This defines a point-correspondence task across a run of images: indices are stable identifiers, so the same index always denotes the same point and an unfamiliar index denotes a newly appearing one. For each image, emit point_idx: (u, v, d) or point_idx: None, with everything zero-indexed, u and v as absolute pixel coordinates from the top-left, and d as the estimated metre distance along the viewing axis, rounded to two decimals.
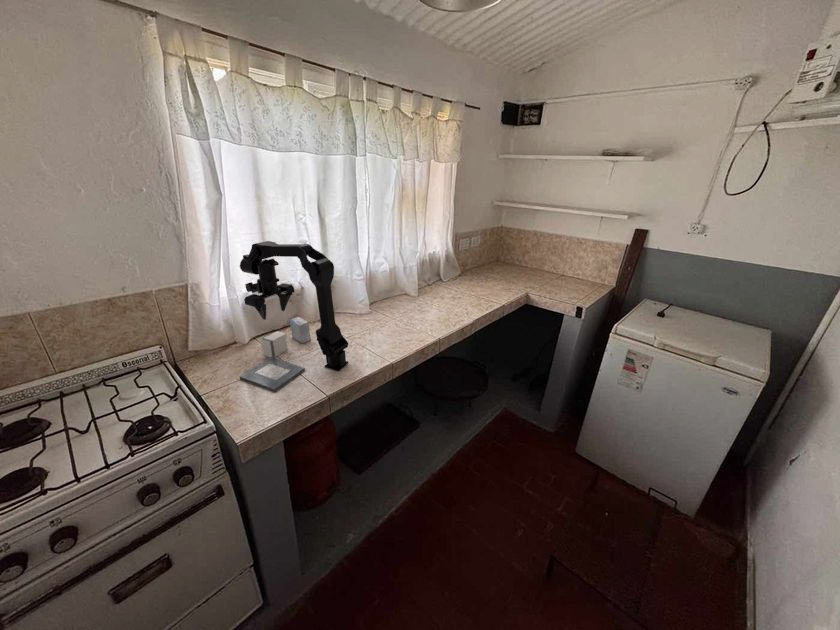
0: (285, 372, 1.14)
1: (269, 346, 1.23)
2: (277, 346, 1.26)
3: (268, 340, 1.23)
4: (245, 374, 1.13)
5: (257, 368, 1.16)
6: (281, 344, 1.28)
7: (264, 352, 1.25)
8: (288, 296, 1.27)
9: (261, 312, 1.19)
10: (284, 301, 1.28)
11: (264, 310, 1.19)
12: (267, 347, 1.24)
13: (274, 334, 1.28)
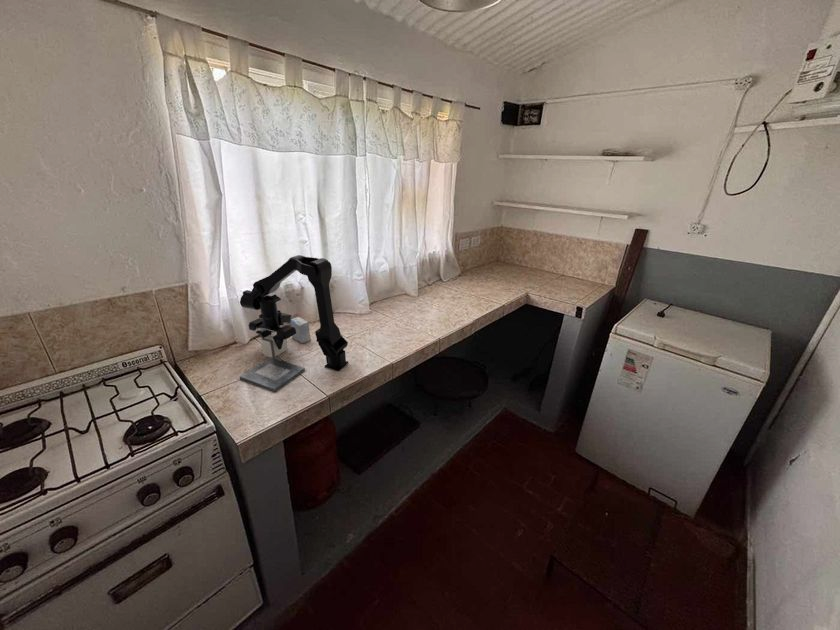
0: (285, 372, 1.14)
1: (269, 346, 1.23)
2: None
3: (268, 340, 1.23)
4: (245, 374, 1.13)
5: (257, 368, 1.16)
6: None
7: (264, 352, 1.25)
8: (274, 338, 1.22)
9: None
10: None
11: (262, 337, 1.26)
12: (267, 347, 1.24)
13: (274, 334, 1.28)
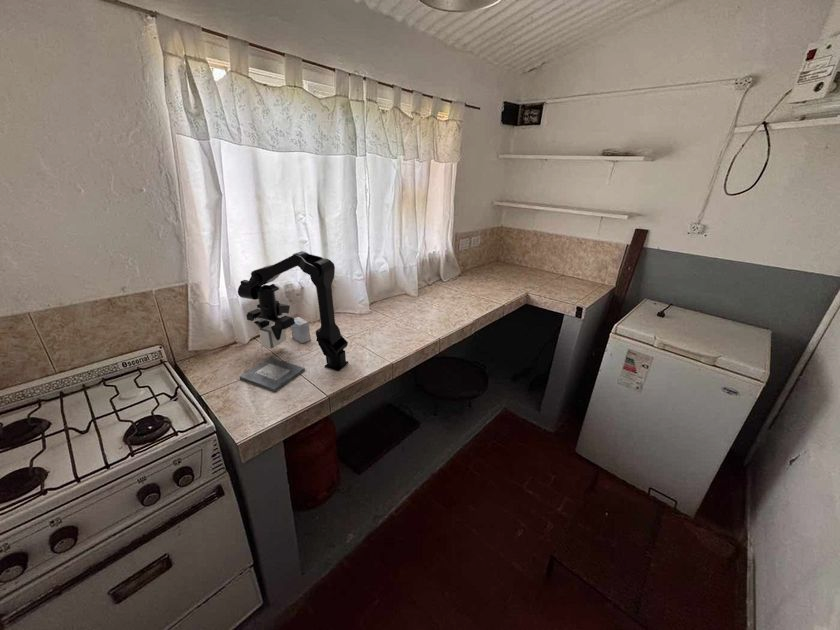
0: (285, 372, 1.14)
1: (267, 336, 1.21)
2: None
3: (267, 331, 1.21)
4: (245, 374, 1.13)
5: (257, 368, 1.16)
6: None
7: (262, 343, 1.24)
8: (272, 328, 1.20)
9: None
10: None
11: (260, 328, 1.24)
12: (265, 337, 1.22)
13: (272, 325, 1.26)
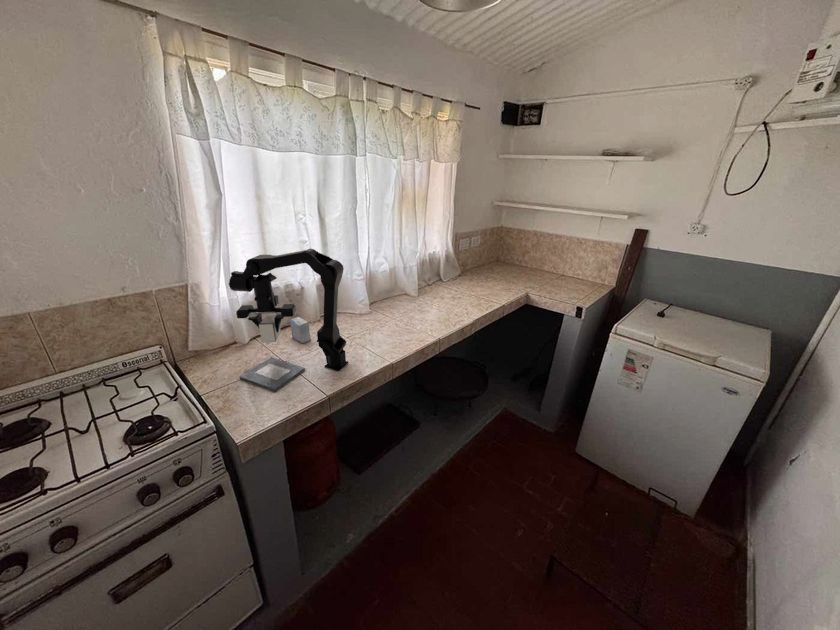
0: (285, 372, 1.14)
1: (271, 329, 1.15)
2: None
3: (269, 323, 1.14)
4: (245, 374, 1.13)
5: (257, 368, 1.16)
6: None
7: (263, 338, 1.15)
8: (276, 319, 1.14)
9: None
10: None
11: (256, 324, 1.15)
12: (268, 331, 1.15)
13: (266, 318, 1.18)
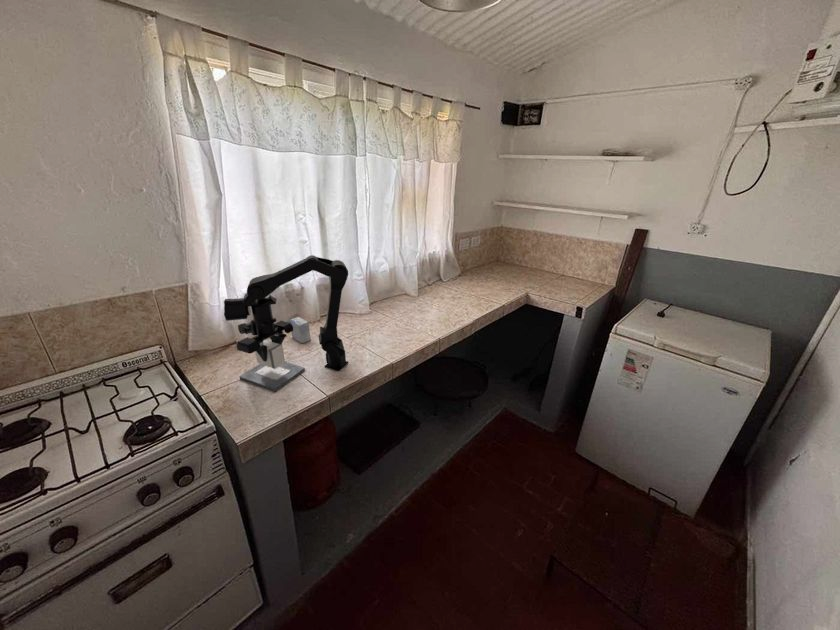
0: (285, 372, 1.14)
1: (281, 350, 1.11)
2: None
3: (279, 345, 1.10)
4: (245, 374, 1.13)
5: (257, 368, 1.16)
6: None
7: (275, 364, 1.09)
8: (282, 339, 1.11)
9: (261, 354, 1.07)
10: None
11: (265, 352, 1.07)
12: (279, 354, 1.10)
13: None
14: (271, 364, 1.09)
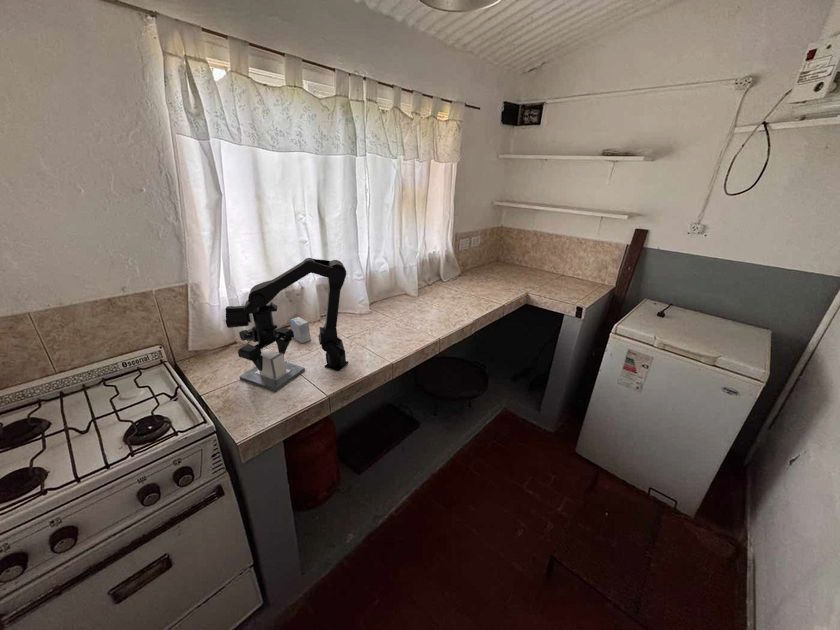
0: (285, 372, 1.14)
1: (282, 359, 1.12)
2: None
3: (280, 354, 1.11)
4: (245, 374, 1.13)
5: (257, 368, 1.16)
6: None
7: (277, 372, 1.11)
8: (287, 342, 1.14)
9: (257, 364, 1.07)
10: (283, 348, 1.15)
11: (260, 362, 1.06)
12: (280, 363, 1.12)
13: (264, 354, 1.11)
14: (272, 373, 1.11)
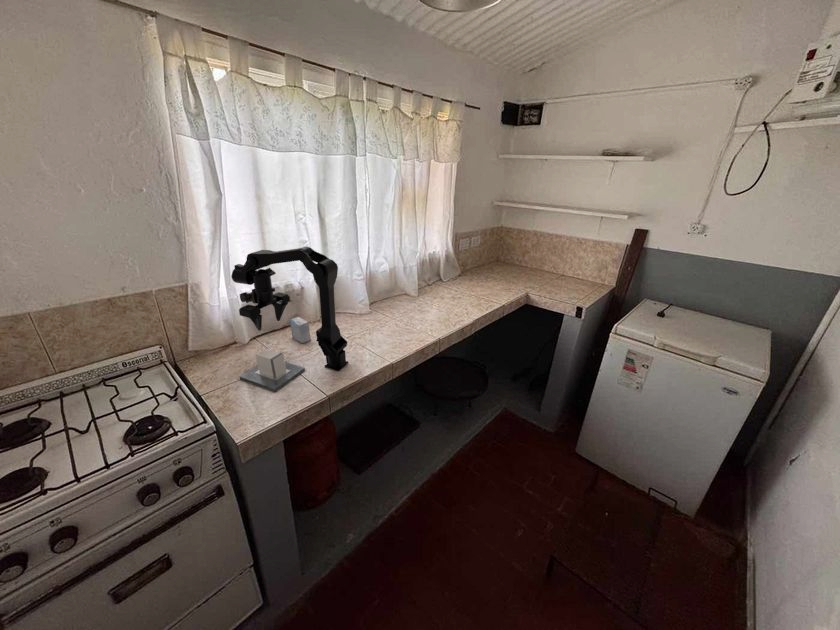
0: (285, 372, 1.14)
1: (282, 359, 1.12)
2: None
3: (280, 354, 1.11)
4: (245, 374, 1.13)
5: (257, 368, 1.16)
6: None
7: (277, 372, 1.11)
8: (284, 306, 1.24)
9: (256, 323, 1.16)
10: (279, 311, 1.24)
11: (260, 321, 1.15)
12: (280, 363, 1.12)
13: (264, 354, 1.11)
14: (272, 373, 1.11)
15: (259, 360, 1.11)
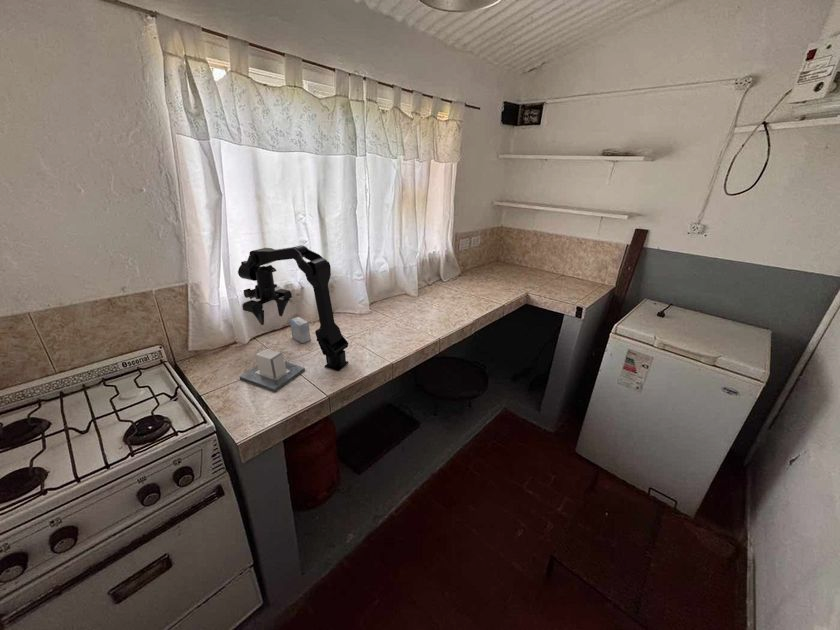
0: (285, 372, 1.14)
1: (282, 359, 1.12)
2: None
3: (280, 354, 1.11)
4: (245, 374, 1.13)
5: (257, 368, 1.16)
6: None
7: (277, 372, 1.11)
8: (286, 301, 1.29)
9: (259, 318, 1.21)
10: (282, 306, 1.29)
11: (262, 316, 1.20)
12: (280, 363, 1.12)
13: (264, 354, 1.11)
14: (272, 373, 1.11)
15: (259, 360, 1.11)
